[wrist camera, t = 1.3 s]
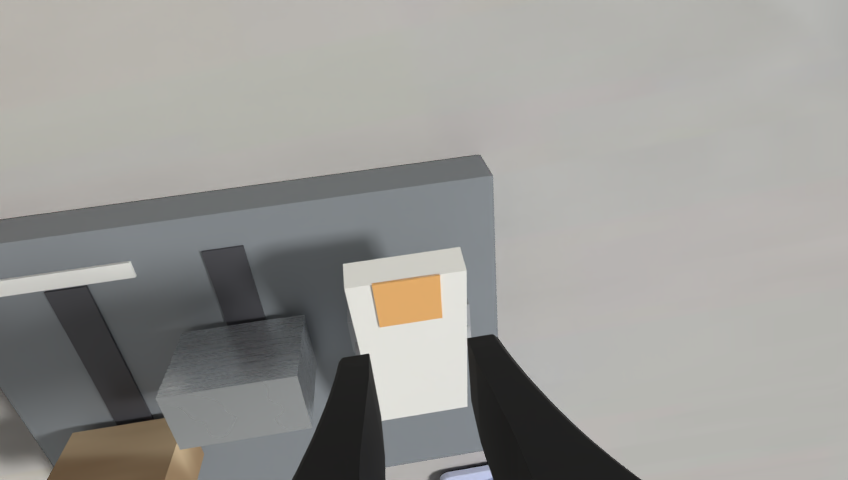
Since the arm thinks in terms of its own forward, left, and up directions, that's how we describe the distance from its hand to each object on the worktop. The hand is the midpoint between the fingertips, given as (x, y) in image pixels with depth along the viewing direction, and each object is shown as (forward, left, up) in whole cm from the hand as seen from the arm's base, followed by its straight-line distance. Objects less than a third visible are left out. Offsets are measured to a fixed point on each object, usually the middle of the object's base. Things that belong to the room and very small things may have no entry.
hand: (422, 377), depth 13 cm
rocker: (-3, 0, -5) cm, 6 cm away
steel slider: (-4, +6, -7) cm, 10 cm away
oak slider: (-8, +12, -7) cm, 16 cm away
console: (-5, +6, -9) cm, 12 cm away
